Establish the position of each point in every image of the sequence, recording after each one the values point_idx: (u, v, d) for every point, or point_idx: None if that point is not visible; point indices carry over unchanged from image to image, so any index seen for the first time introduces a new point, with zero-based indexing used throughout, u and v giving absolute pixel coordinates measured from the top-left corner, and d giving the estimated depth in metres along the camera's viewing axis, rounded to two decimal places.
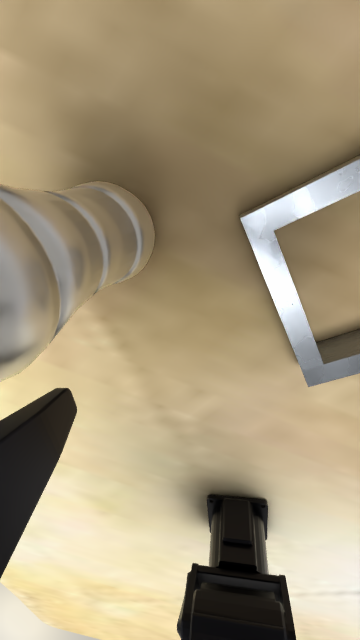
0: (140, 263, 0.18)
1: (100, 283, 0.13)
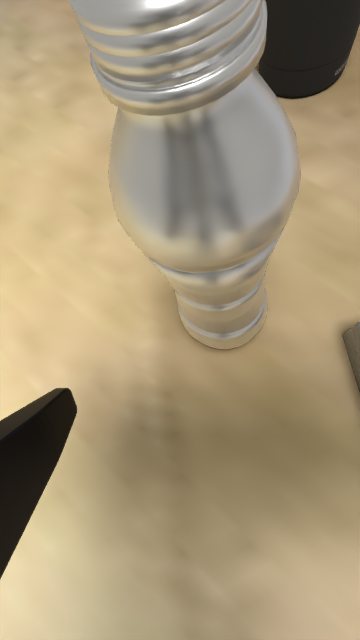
0: (253, 328, 0.18)
1: (248, 295, 0.14)
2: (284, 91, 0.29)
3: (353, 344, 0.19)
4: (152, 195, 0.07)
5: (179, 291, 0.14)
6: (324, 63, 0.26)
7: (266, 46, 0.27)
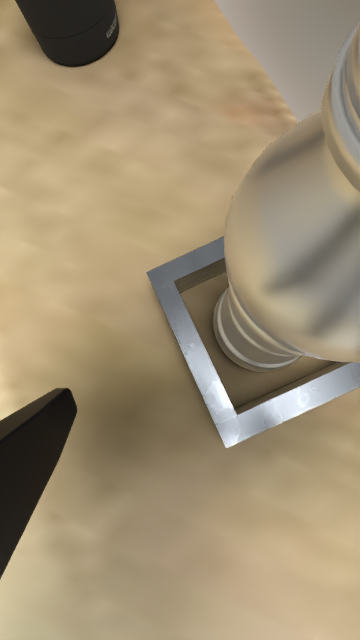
0: (289, 364, 0.17)
1: None
2: (66, 60, 0.28)
3: None
4: (310, 281, 0.06)
5: (243, 326, 0.12)
6: (88, 27, 0.26)
7: (25, 14, 0.26)
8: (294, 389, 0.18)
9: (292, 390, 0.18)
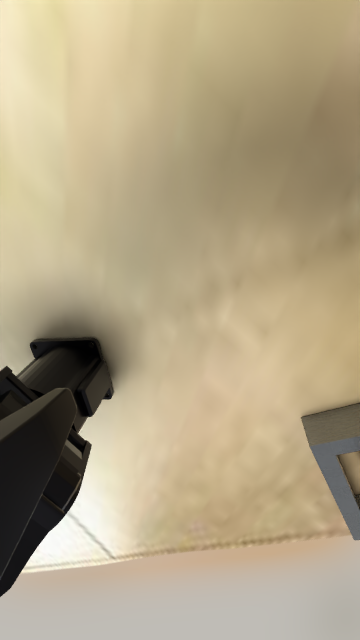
0: None
1: None
2: None
3: None
4: None
5: None
6: None
7: None
8: (348, 486, 0.23)
9: (348, 485, 0.23)
